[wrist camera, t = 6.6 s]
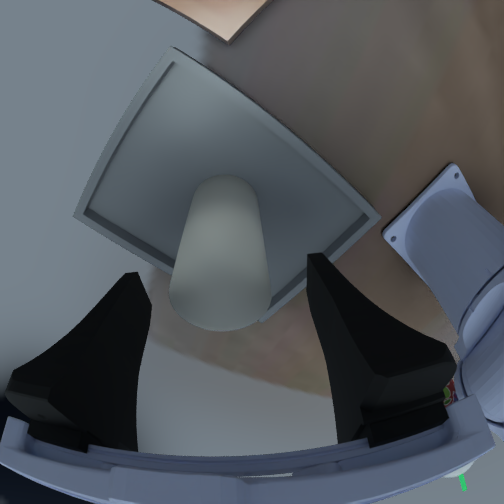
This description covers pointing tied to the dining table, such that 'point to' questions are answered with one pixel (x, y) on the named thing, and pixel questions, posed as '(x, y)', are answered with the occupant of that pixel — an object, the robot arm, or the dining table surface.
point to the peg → (221, 258)
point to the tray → (212, 164)
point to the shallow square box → (218, 15)
